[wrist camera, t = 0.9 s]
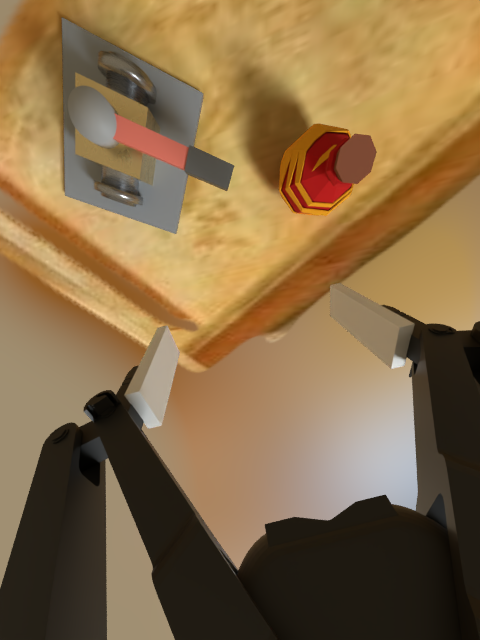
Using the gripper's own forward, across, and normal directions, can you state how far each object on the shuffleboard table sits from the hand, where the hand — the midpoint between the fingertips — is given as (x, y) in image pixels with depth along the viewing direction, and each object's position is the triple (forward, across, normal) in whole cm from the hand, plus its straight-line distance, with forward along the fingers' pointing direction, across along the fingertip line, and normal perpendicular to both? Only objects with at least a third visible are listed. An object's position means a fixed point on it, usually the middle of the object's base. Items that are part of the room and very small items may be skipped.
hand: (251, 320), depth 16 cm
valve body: (+24, -10, +18) cm, 32 cm away
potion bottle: (+25, +14, +10) cm, 30 cm away
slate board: (+24, -10, +18) cm, 32 cm away
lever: (+16, -5, +15) cm, 22 cm away
